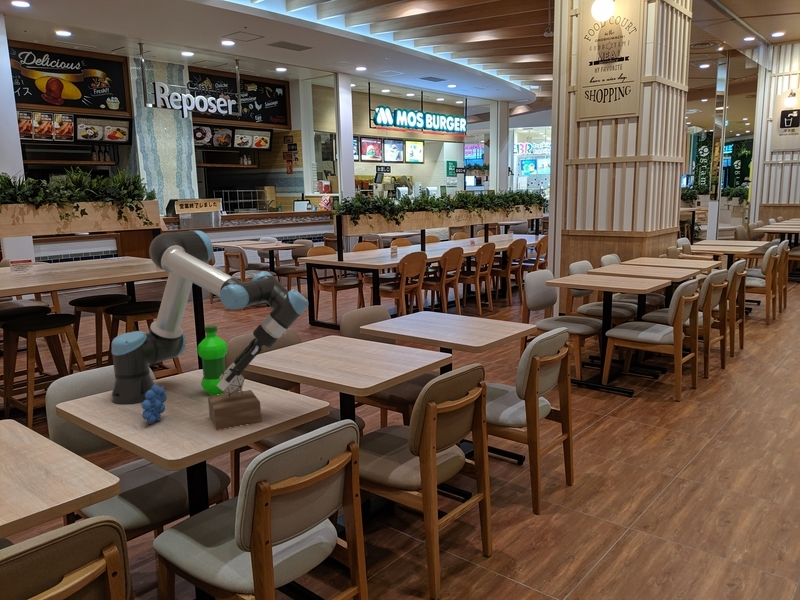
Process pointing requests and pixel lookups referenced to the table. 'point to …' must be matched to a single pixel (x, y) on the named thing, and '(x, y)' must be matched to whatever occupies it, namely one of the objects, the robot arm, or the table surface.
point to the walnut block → (234, 409)
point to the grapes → (154, 404)
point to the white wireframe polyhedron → (234, 384)
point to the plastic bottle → (212, 360)
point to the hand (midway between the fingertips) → (221, 384)
